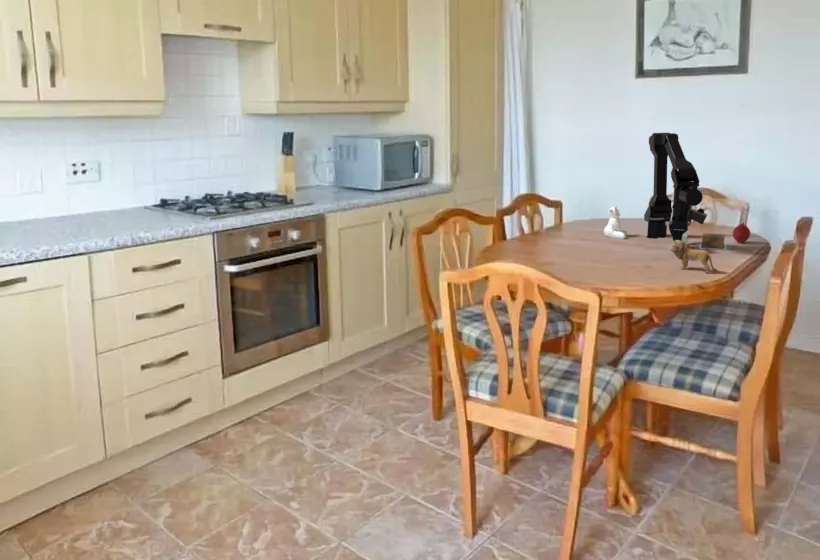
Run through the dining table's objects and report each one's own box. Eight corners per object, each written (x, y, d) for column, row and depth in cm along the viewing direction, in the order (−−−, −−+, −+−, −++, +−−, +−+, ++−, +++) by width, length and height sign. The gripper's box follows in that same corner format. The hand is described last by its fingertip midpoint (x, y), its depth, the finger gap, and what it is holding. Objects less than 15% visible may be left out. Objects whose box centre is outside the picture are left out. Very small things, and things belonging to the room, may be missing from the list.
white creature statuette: (625, 239, 277) (626, 208, 274) (602, 238, 279) (603, 207, 277) (627, 235, 285) (628, 204, 282) (604, 234, 288) (605, 204, 285)
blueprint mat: (693, 249, 255) (693, 248, 255) (695, 243, 266) (695, 242, 265) (730, 251, 250) (730, 250, 250) (731, 245, 261) (731, 244, 260)
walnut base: (701, 247, 256) (702, 236, 255) (702, 244, 262) (703, 233, 261) (722, 248, 253) (723, 237, 252) (723, 245, 259) (724, 234, 258)
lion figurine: (667, 268, 228) (668, 240, 226) (673, 265, 232) (674, 238, 230) (714, 274, 219) (717, 245, 217) (720, 271, 223) (722, 242, 221)
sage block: (670, 249, 257) (671, 235, 256) (672, 246, 261) (672, 233, 260) (685, 250, 255) (686, 236, 254) (686, 247, 259) (687, 234, 258)
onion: (751, 245, 259) (753, 223, 258) (734, 245, 261) (735, 223, 259) (747, 242, 265) (749, 220, 263) (730, 242, 266) (732, 220, 264)
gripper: (704, 206, 242) (701, 251, 246) (707, 199, 259) (704, 241, 263) (669, 205, 247) (667, 249, 251) (675, 198, 263) (672, 240, 267)
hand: (678, 245), depth 258 cm, fingers open, 9 cm apart
